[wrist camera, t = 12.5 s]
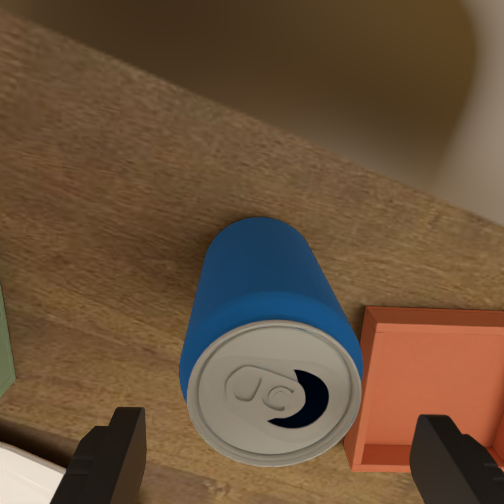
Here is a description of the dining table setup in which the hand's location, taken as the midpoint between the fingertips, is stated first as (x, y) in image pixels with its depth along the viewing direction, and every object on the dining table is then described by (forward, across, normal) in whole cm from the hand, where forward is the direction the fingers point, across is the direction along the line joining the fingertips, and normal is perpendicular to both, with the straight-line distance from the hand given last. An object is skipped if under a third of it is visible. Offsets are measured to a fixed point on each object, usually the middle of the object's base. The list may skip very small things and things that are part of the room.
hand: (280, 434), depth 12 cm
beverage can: (+14, 0, 0) cm, 14 cm away
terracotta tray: (+13, -12, +8) cm, 20 cm away
